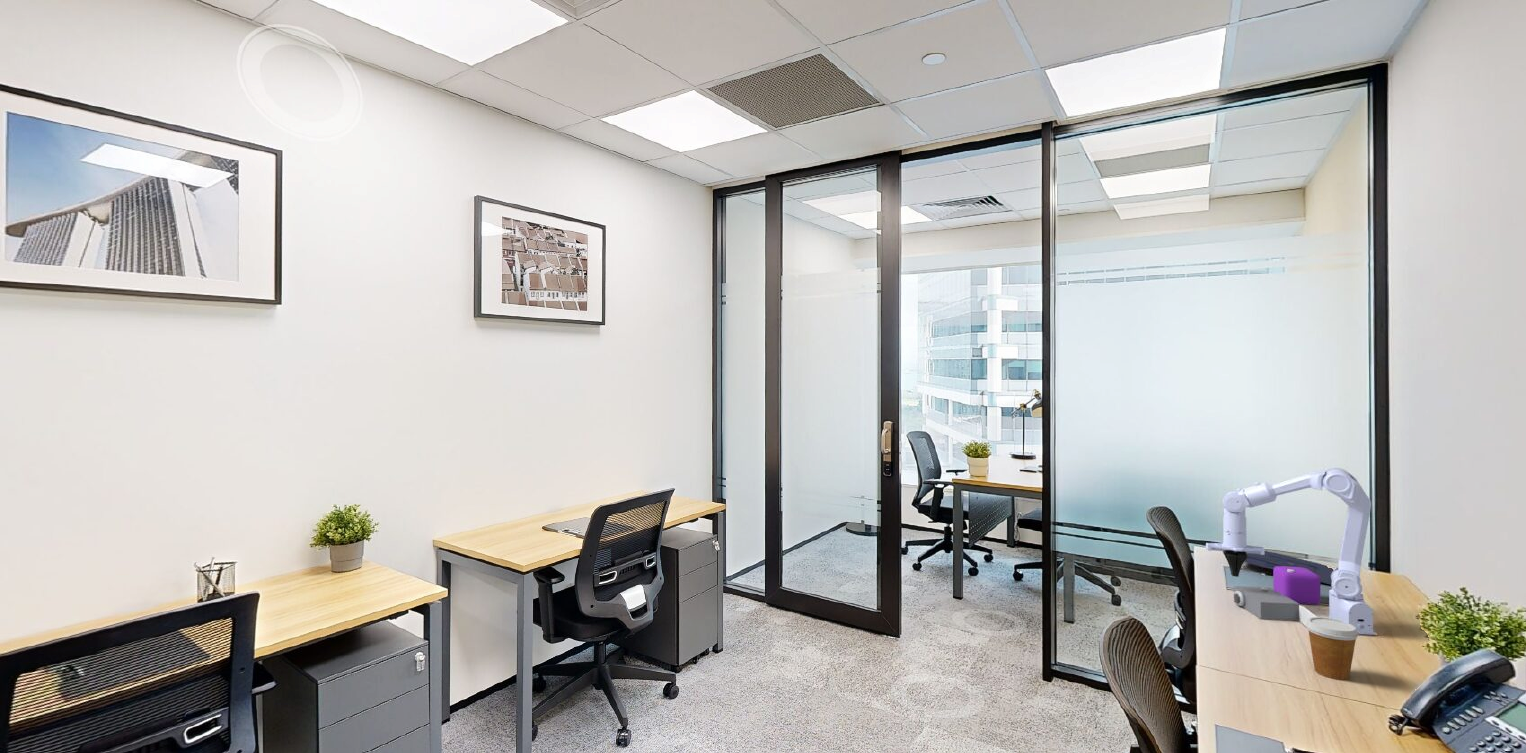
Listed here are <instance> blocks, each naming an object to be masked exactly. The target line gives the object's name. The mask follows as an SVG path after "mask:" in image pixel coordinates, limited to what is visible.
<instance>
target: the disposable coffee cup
mask: <svg viewBox="0 0 1526 753" xmlns="http://www.w3.org/2000/svg"><path fill="white" fill-rule="evenodd" d="M1305 627H1306V629H1307V630H1308V636H1309V637H1308V638H1309V642H1310V649H1311V656H1312V661H1313V662H1312V663H1313V667H1314V668H1313V669H1314V671H1315V672H1316V673H1317V674H1318V675H1321V676H1323V677H1327V678H1329V679H1333V680H1339V681H1340V680H1342V681H1343V680H1349V679H1350V675H1351V668H1352V663H1353V658H1354V652H1355V647H1356V646H1355V645H1356V642H1357V641H1356V640H1357V639H1358V637H1359V635H1360V634H1358V632H1357V631H1356V628H1355V627H1354V626H1353V625H1351V624H1349V623H1347V622H1343V621H1340V620H1336V619H1331V618H1329V617H1322V616H1316V617H1312V618H1309V619H1308V622H1307V623H1306V626H1305Z"/></svg>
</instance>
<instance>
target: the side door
mask: <svg viewBox="0 0 1526 753" xmlns="http://www.w3.org/2000/svg"><path fill="white" fill-rule="evenodd" d="M1302 606H1303V605H1302ZM1302 606H1300V621H1299V622H1300V623H1301V624H1303V625H1304V626H1305V627H1306V623H1307V622H1308V619H1309V618H1312V617H1317V616H1316V615H1315V614H1314V613H1313V612H1311V611H1310V610H1309V609H1308V608H1306V607H1305V606H1303V607H1302Z"/></svg>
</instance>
